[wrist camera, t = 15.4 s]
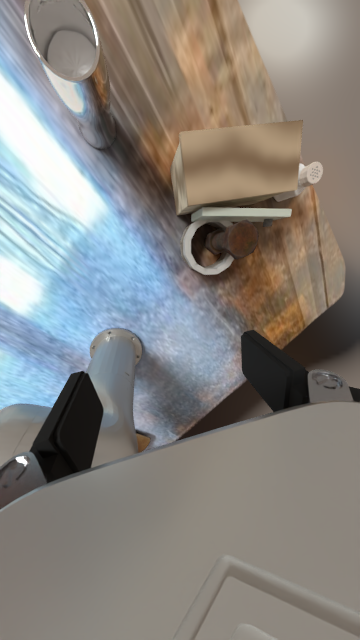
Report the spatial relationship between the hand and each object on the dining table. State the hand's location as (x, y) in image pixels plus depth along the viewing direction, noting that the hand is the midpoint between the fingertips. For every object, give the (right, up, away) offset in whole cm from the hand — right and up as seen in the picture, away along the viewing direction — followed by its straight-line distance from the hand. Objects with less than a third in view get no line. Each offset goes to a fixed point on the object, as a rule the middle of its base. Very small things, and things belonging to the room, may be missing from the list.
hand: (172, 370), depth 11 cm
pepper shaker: (+22, +32, +30) cm, 49 cm away
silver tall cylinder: (-14, +36, +21) cm, 44 cm away
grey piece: (+10, +19, +29) cm, 36 cm away
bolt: (+7, +21, +31) cm, 38 cm away
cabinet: (+9, +25, +29) cm, 40 cm away
